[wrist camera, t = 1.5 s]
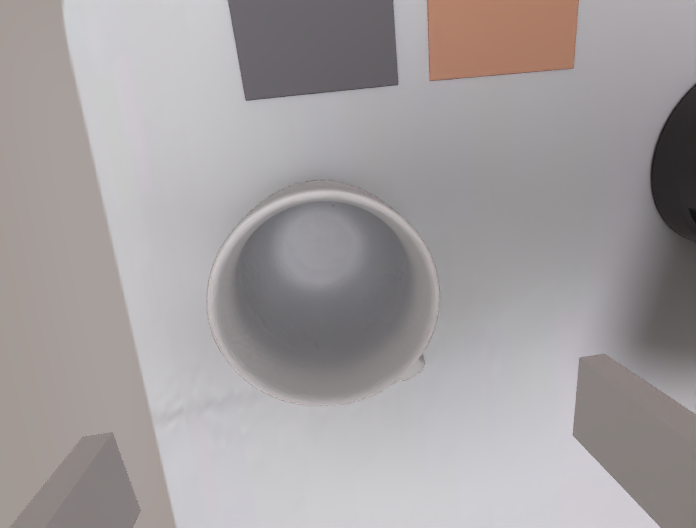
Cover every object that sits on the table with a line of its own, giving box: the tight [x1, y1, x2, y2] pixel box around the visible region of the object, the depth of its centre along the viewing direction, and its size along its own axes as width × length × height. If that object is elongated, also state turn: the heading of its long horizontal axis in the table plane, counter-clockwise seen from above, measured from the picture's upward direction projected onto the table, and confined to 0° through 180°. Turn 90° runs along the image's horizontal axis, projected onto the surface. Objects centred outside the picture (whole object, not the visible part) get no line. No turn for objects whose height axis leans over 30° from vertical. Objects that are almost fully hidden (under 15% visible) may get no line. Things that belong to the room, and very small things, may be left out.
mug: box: [207, 180, 440, 406], centre depth 24 cm, size 15×11×13 cm
